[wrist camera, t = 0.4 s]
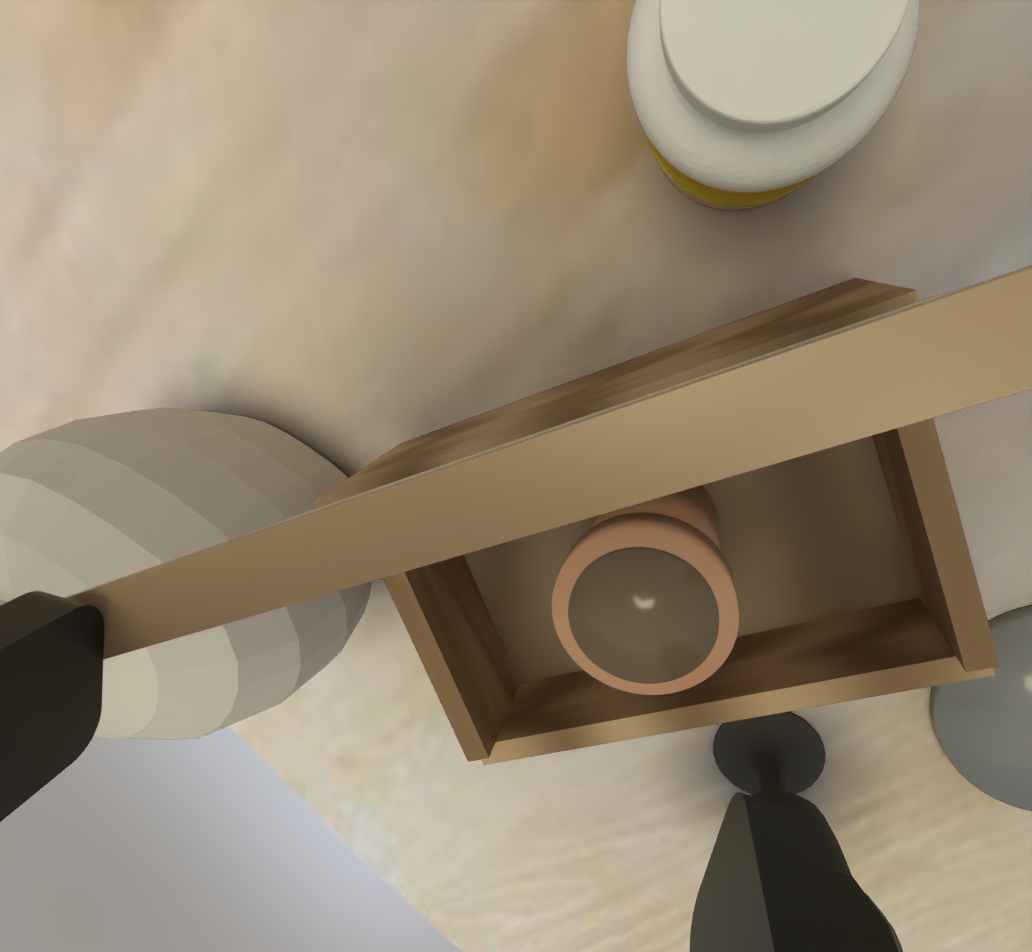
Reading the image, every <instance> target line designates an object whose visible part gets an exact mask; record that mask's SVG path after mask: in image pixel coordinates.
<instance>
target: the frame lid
mask: <svg viewBox="0 0 1032 952" xmlns="http://www.w3.org/2000/svg"><path fill="white" fill-rule="evenodd" d="M1029 389H1032V265H1031V266H1028V267H1025V268H1022V269H1019V270H1017V271H1014V272H1011V273H1008V274H1005V275H1002V276H999V277H996V278H993V279H990V280H987V281H985V282H982V283H979V284H975V285H972V286H968V287H965V288H961V289H958V290H954V291H951V292H947V293H944V294H940V295H937V296H934V297H930V298H927V299H924V300H921V301H918V302H915V303H912V304H909V305H906V306H903V307H901V308H898V309H895V310H892V311H889V312H886V313H883V314H880V315H877V316H874V317H871V318H869V319H866V320H863V321H860V322H857V323H854V324H851V325H848V326H845V327H842V328H840V329H837V330H834V331H831V332H828V333H825V334H822V335H819V336H816V337H813V338H810V339H808V340H805V341H802V342H799V343H796V344H793V345H790V346H787V347H784V348H781V349H778V350H776V351H773V352H770V353H767V354H764V355H761V356H758V357H755V358H752V359H749V360H747V361H744V362H741V363H738V364H735V365H732V366H729V367H726V368H723V369H720V370H717V371H715V372H712V373H709V374H706V375H703V376H700V377H697V378H694V379H691V380H688V381H686V382H683V383H680V384H677V385H674V386H671V387H668V388H665V389H662V390H659V391H656V392H654V393H651V394H648V395H645V396H642V397H639V398H636V399H633V400H630V401H627V402H624V403H622V404H619V405H616V406H613V407H610V408H607V409H604V410H601V411H598V412H595V413H593V414H590V415H587V416H584V417H581V418H578V419H575V420H572V421H569V422H566V423H563V424H561V425H558V426H555V427H552V428H549V429H546V430H543V431H540V432H537V433H534V434H532V435H529V436H526V437H523V438H520V439H517V440H514V441H511V442H508V443H505V444H502V445H500V446H497V447H494V448H491V449H488V450H485V451H482V452H479V453H476V454H473V455H471V456H468V457H465V458H462V459H459V460H456V461H453V462H450V463H447V464H444V465H441V466H439V467H436V468H433V469H430V470H427V471H424V472H421V473H418V474H415V475H412V476H409V477H407V478H404V479H401V480H398V481H395V482H392V483H389V484H386V485H383V486H380V487H378V488H375V489H372V490H369V491H366V492H363V493H360V494H357V495H354V496H351V497H348V498H346V499H343V500H340V501H337V502H334V503H331V504H328V505H325V506H322V507H319V508H317V509H314V510H311V511H308V512H305V513H302V514H299V515H297V516H294V517H291V518H289V519H286V520H283V521H280V522H278V523H275V524H272V525H270V526H267V527H264V528H261V529H259V530H256V531H253V532H251V533H248V534H245V535H242V536H240V537H237V538H234V539H232V540H229V541H226V542H223V543H221V544H218V545H215V546H212V547H209V548H206V549H203V550H200V551H197V552H194V553H191V554H188V555H186V556H183V557H180V558H177V559H174V560H171V561H168V562H165V563H162V564H159V565H156V566H153V567H151V568H148V569H145V570H142V571H139V572H136V573H133V574H130V575H127V576H124V577H121V578H118V579H116V580H113V581H110V582H107V583H104V584H101V585H98V586H95V587H92V588H89V589H86V590H83V591H81V592H78V593H75V594H72V595H69V596H66V597H63V598H67V599H70V600H74V601H77V602H81V603H84V604H88V605H91V606H94V607H96V608H98V609H99V611H100V612H101V614H102V616H103V619H104V651H103V660H104V659H107V658H111V657H114V656H118V655H121V654H124V653H128V652H131V651H135V650H138V649H142V648H145V647H148V646H152V645H155V644H159V643H162V642H166V641H169V640H172V639H176V638H179V637H183V636H186V635H189V634H193V633H196V632H200V631H203V630H207V629H210V628H213V627H217V626H220V625H224V624H227V623H231V622H234V621H237V620H241V619H244V618H248V617H251V616H255V615H258V614H261V613H265V612H268V611H272V610H275V609H279V608H282V607H285V606H289V605H292V604H296V603H299V602H303V601H306V600H309V599H313V598H316V597H320V596H323V595H327V594H330V593H333V592H337V591H340V590H344V589H347V588H351V587H354V586H357V585H361V584H364V583H368V582H371V581H375V580H378V579H381V578H385V577H388V576H392V575H395V574H399V573H402V572H405V571H409V570H412V569H416V568H419V567H423V566H426V565H429V564H433V563H436V562H440V561H443V560H447V559H450V558H453V557H457V556H460V555H464V554H467V553H471V552H474V551H477V550H481V549H484V548H488V547H491V546H495V545H498V544H501V543H505V542H508V541H512V540H515V539H519V538H522V537H525V536H529V535H532V534H536V533H539V532H543V531H546V530H549V529H553V528H556V527H560V526H563V525H567V524H570V523H573V522H577V521H580V520H584V519H587V518H591V517H594V516H597V515H601V514H604V513H608V512H611V511H615V510H618V509H621V508H625V507H628V506H632V505H635V504H639V503H642V502H645V501H649V500H652V499H656V498H659V497H663V496H666V495H669V494H673V493H676V492H680V491H683V490H687V489H690V488H693V487H697V486H700V485H704V484H707V483H711V482H714V481H717V480H721V479H724V478H728V477H731V476H735V475H738V474H741V473H745V472H748V471H752V470H755V469H759V468H762V467H765V466H769V465H772V464H776V463H779V462H783V461H786V460H789V459H793V458H796V457H800V456H803V455H807V454H810V453H813V452H817V451H820V450H824V449H827V448H831V447H834V446H837V445H841V444H844V443H848V442H851V441H855V440H858V439H861V438H865V437H868V436H872V435H875V434H879V433H882V432H885V431H889V430H892V429H896V428H899V427H903V426H906V425H909V424H913V423H916V422H920V421H923V420H927V419H930V418H933V417H937V416H940V415H944V414H947V413H951V412H954V411H957V410H961V409H964V408H968V407H971V406H975V405H978V404H981V403H985V402H988V401H992V400H995V399H999V398H1002V397H1005V396H1009V395H1012V394H1016V393H1019V392H1023V391H1026V390H1029Z"/></svg>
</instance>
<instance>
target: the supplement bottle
mask: <svg viewBox="0 0 1032 952" xmlns="http://www.w3.org/2000/svg"><path fill="white" fill-rule="evenodd" d="M919 15H920V0H636V2H635V5H634V8H633V12H632V16H631V21H630V26H629V33H628V40H627V76H628V84H629V90H630V94H631V98H632V102H633V105H634V108H635V111H636V114H637V116H638V118H639V121H640V123H641V126H642V128H643V130H644V132H645V134H646V136H647V139H648V141H649V143H650V146H651V148H652V151H653V153H654V155H655V157H656V160H657V161H658V163H659V165H660V167H661V169H662V170H663V172H664V173H665V175H666V176H667V177H668V179H669V180H670V181H671V182H672V183H673V184H674V185H675V186H676V187H677V188H678V189H679V190H680V191H681V192H683V193H684V194H685V195H687V196H688V197H690V198H691V199H693V200H695V201H697V202H699V203H702V204H704V205H707V206H710V207H714V208H718V209H725V210H741V209H750V208H755V207H759V206H763V205H766V204H769V203H772V202H774V201H776V200H778V199H781V198H782V197H784V196H786V195H788V194H789V193H791V192H793V191H794V190H796V189H797V188H798V187H800V186H801V185H803V184H804V183H805V182H807V181H808V180H810V179H811V178H813V177H815V176H816V175H817V174H819V173H820V172H822V171H823V170H825V169H827V168H828V167H829V166H831V165H832V164H834V163H835V162H837V161H838V160H839V159H840V158H842V157H843V156H844V155H845V154H847V153H848V152H849V151H850V150H851V149H853V148H854V147H855V146H856V145H857V144H858V143H859V142H860V141H861V140H862V139H863V138H864V137H865V136H866V135H867V134H868V133H869V132H870V131H871V129H872V128H873V127H874V126H875V125H876V123H877V122H878V121H879V120H880V118H881V117H882V116H883V114H884V113H885V111H886V110H887V108H888V107H889V105H890V104H891V102H892V100H893V98H894V97H895V95H896V93H897V91H898V89H899V87H900V85H901V83H902V81H903V79H904V76H905V74H906V72H907V69H908V67H909V63H910V60H911V57H912V53H913V50H914V47H915V42H916V38H917V32H918V26H919Z"/></svg>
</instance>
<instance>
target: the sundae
mask: <svg viewBox="0 0 1032 952" xmlns="http://www.w3.org/2000/svg"><path fill="white" fill-rule="evenodd" d="M713 754H714V757H715V760H716V763H717V765H718V767H719V769H720V771H721V772H722V773H723V774H724V775H725V777H726V778H727V779H728V780H729V781H730V782H732V783H733V784H734V785H735V786H737V787H738V788H740V789H742V790H744V791H746V792H748V793H751V794H753V795H751V796H753V797H756V798H760V799H763V800H767V801H770V802H774V803H777V804H781V805H784V806H788V807H791V808H795V809H798V810H802V811H805V812H806V813H807V814H808V815H809V817H810V819H811V821H812V824H813V827H814V830H815V834H816V837H817V840H818V843H819V846H820V850H821V853H822V856H823V859H824V862H825V866H826V869H829V870H832V871H836V872H839V873H843V874H846V875H849V876H852V875H851V872H850V870H849V867H848V865H847V862H846V860H845V857H844V855H843V852H842V850H841V848H840V845H839V843H838V841H837V839H836V837H835V835H834V833H833V832H832V830H831V828H830V826H829V824H828V822H827V821H826V819H825V817H824V816H823V814H822V813H821V812H820V810H819V809H818V808H817V807H816V806H815V805H814V804H813V803H811V802H810V801H808V800H806V799H804V798H802V797H800V796H798V795H796V793H799V792H801V791H803V790H805V789H807V788H808V787H810V786H812V784H813V783H814V782H815V781H816V780H817V779H818V777H819V776H820V774H821V772H822V771H823V767H824V763H825V750H824V746H823V743H822V741H821V738H820V736H819V735H818V733H817V732H816V731H815V730H814V729H813V727H811V726H810V725H809V724H808V723H807V722H806V721H805V720H803V719H802V718H800V717H798V716H796V715H794V714H792V713H789V712H783V713H777V714H771V715H766V716H760V717H754V718H748V719H743V720H737V721H731V722H726V723H723V725H722V726H721V727H720V729H719V730H718V732H717V734H716V736H715V739H714V745H713ZM866 895H867V894H866ZM867 897H868V898H869V896H868V895H867ZM869 899H870V898H869ZM870 901H871V902H872V903H873V905H874V906H875V907H876V909H877V910H878V911H879V913H880V914H881V915H882V917H883V918H884V919H885V921H886V922H887V923H888V925H889V927H890V930H891V933H892V935H893V938H894V940H895V943H896V946H897V948H898V951H899V952H903V951H902V947H901V944H900V942H899V940H898V937H897V935H896V933H895V930H894V929H893V927H892V926H891V924H890V923H889V922H888V920H887V919H886V917H885V916H884V915H883V913H882V912H881V911H880V910H879V908H878V907H877V906H876V905H875V904H874V902H873V901H872V900H871V899H870Z"/></svg>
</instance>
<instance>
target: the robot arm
mask: <svg viewBox="0 0 1032 952" xmlns="http://www.w3.org/2000/svg"><path fill="white" fill-rule="evenodd" d="M103 651H104V619H103V616H102V614H101V612H100V611H99V609H98V608H96V607H94V606H91V605H88V604H84V603H81V602H77V601H74V600H70V599H67V598H63V597H60V596H56V595H53V594H49V593H46V592H42V591H32V592H28V593H26V594H23V595H21V596H19V597H17V598H15V599H13V600H11V601H9V602H7V603H4V604H2V605H0V822H1V821H2V820H3V819H4V818H6V817H7V816H8V815H9V814H11V813H12V812H13V811H14V810H15V809H17V808H18V807H19V806H20V805H21V804H23V803H24V802H25V801H26V800H28V799H29V798H30V797H31V796H33V795H34V794H35V793H36V792H37V791H39V790H40V789H41V788H42V787H43V786H45V785H46V784H47V783H48V782H50V781H51V780H52V779H53V778H54V777H56V776H57V775H58V774H59V773H61V772H62V771H63V770H64V769H65V768H66V767H68V766H69V765H70V764H72V763H73V762H74V761H75V760H76V759H77V758H78V757H79V756H80V755H81V753H82V752H83V751H84V750H85V748H86V747H87V746H88V744H89V742H90V741H91V739H92V737H93V735H94V734H95V731H96V729H97V727H98V724H99V721H100V717H101V710H102V684H103ZM690 952H899V951H898V948H897V946H896V943H895V940H894V938H893V935H892V933H891V930H890V927H889V925H888V923H887V922H886V921H885V919H884V918H883V917H882V915H881V914H880V913H879V911H878V910H877V909H876V907H875V906H874V905H873V903H872V902H871V901H870V899H869V898H868V897H867V895H866V894H865V893H864V891H863V890H862V889H861V887H860V886H859V885H858V884H857V882H856V881H855V880H854V878H853V877H852V876H849V875H846V874H843V873H839V872H836V871H832V870H829V869H826V866H825V862H824V859H823V856H822V853H821V850H820V846H819V843H818V840H817V837H816V834H815V830H814V827H813V824H812V821H811V819H810V817H809V815H808V814H807V813H806V812H805V811H802V810H798V809H795V808H791V807H788V806H784V805H781V804H777V803H774V802H770V801H767V800H763V799H760V798H756V797H753V796H749V795H746V794H742V793H736V794H735V795H734V796H733V798H732V799H731V801H730V803H729V806H728V808H727V811H726V814H725V817H724V820H723V822H722V825H721V828H720V831H719V834H718V837H717V840H716V843H715V846H714V849H713V851H712V854H711V857H710V860H709V863H708V866H707V869H706V872H705V875H704V878H703V880H702V883H701V886H700V889H699V892H698V895H697V899H696V903H695V907H694V912H693V918H692V925H691V935H690Z"/></svg>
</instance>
